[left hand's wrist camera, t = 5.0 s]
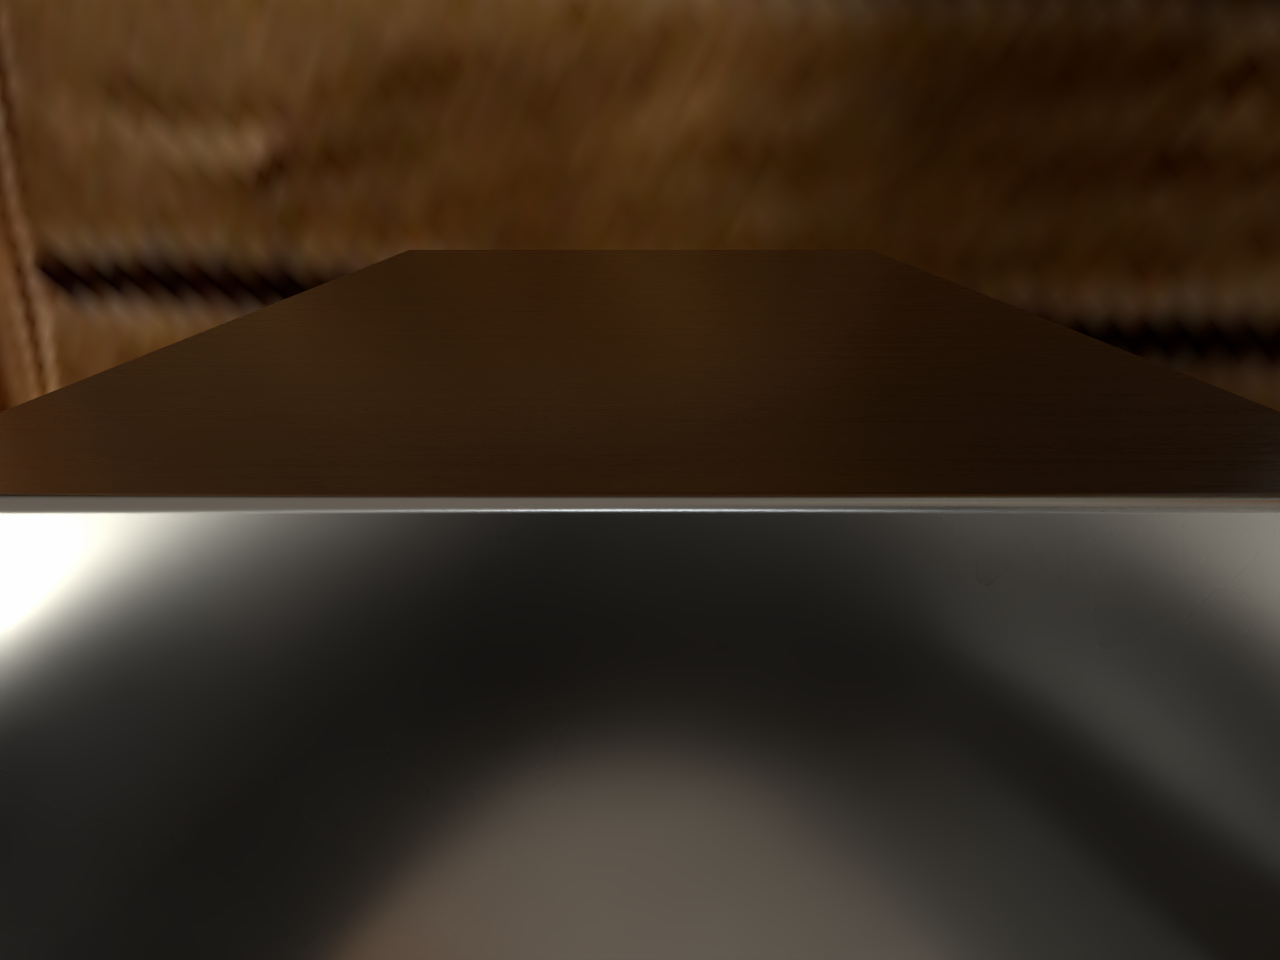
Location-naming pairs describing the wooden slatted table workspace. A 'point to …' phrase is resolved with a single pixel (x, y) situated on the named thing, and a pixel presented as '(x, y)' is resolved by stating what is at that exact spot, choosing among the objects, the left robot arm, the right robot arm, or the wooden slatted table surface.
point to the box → (640, 628)
